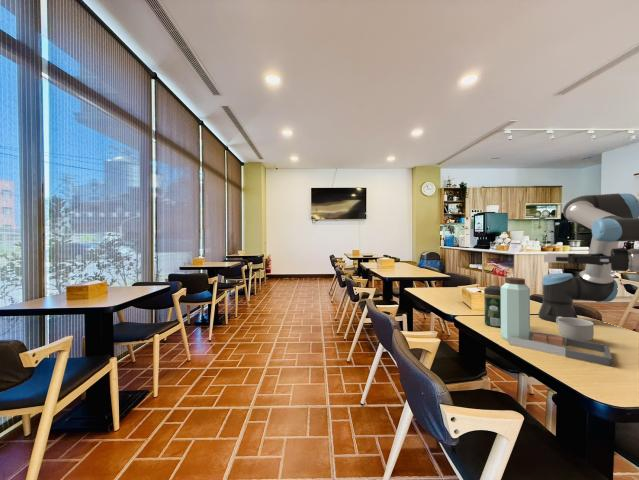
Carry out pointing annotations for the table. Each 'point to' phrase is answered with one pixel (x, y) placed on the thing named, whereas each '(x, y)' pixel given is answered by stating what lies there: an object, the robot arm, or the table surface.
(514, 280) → the water bottle
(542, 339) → the block
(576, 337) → the teacup
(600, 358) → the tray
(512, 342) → the slot rails
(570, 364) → the table surface
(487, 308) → the coffee jar
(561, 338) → the block
